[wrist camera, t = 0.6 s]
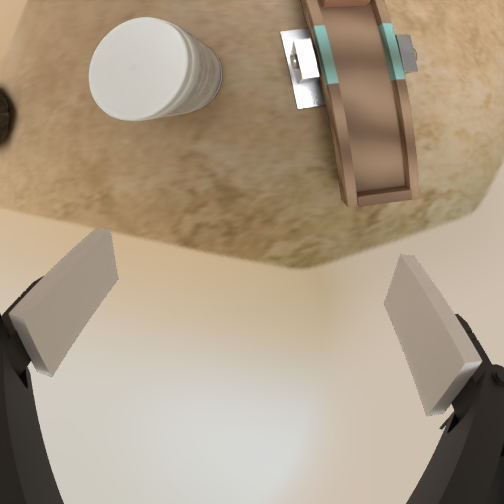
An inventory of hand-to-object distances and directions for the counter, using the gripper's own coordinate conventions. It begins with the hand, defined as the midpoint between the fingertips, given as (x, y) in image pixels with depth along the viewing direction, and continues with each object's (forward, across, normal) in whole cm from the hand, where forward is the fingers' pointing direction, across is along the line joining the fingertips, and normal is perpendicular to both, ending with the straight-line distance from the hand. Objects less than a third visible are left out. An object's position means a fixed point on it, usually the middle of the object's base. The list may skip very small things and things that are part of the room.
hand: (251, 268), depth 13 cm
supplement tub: (+27, -11, +10) cm, 31 cm away
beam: (+25, +8, +13) cm, 29 cm away
